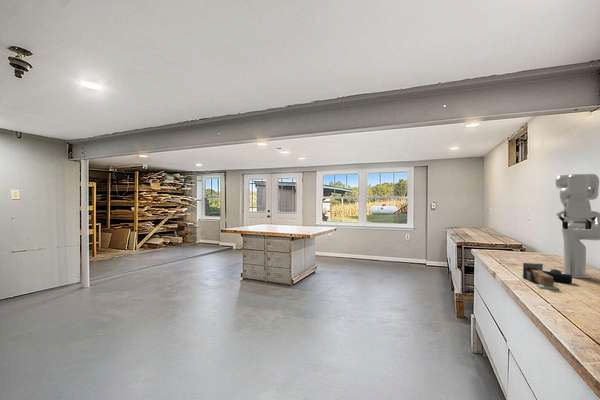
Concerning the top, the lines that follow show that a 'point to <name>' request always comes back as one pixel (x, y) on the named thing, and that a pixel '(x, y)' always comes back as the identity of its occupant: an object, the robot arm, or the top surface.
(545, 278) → the walnut rail
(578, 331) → the top surface
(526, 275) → the grey metal bracket
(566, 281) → the pipe connector
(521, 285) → the top surface
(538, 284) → the pad
